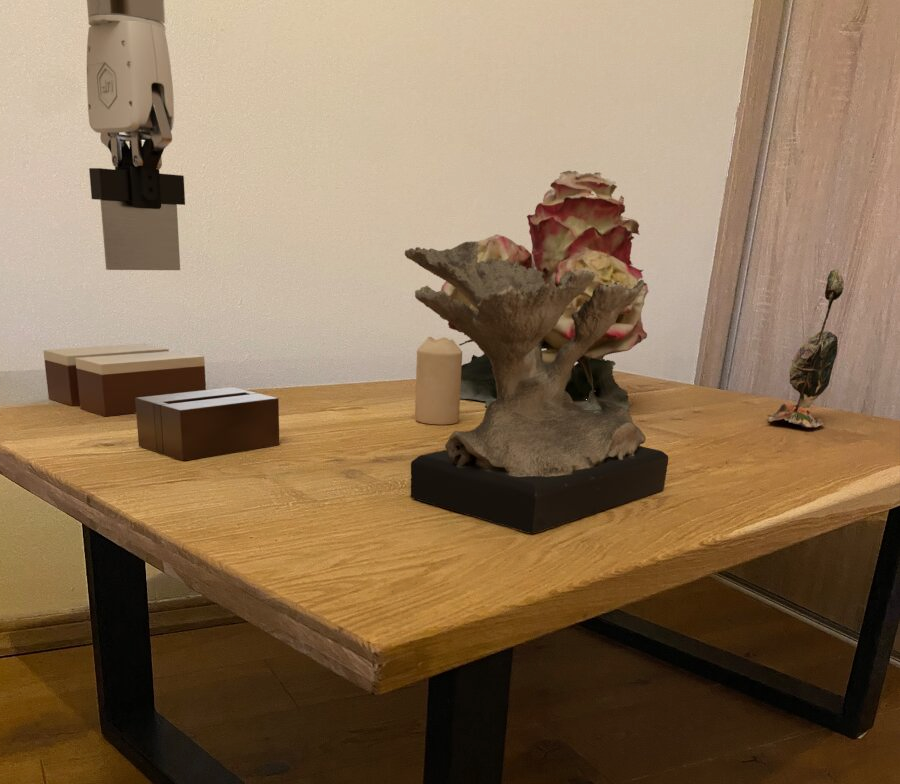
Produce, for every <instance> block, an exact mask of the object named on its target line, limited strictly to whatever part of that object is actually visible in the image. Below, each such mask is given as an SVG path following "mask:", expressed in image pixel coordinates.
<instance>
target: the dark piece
mask: <svg viewBox="0 0 900 784" xmlns="http://www.w3.org/2000/svg"><path fill="white" fill-rule="evenodd" d="M88 173H89V180H90V181H89V184H90V195H91V197H90V198H91V200H98V201H100V212H101V213H100V214H101V225H102V236H103V238H102V239H103V246H104V249H103V250H104V258H105V259H104V261H105V270H107V271H181V258H180V256H181V255H180V237H179V221H178V220H179V219H178V205H179V206H181V205H182V206H186V195H185V194H186V193H185V176H184V175H183V174H182V175H181V174H172V173H171V174H169V173H160V172H159V174H160V191H161V208H160V209H148V208H135V207H133V205H132V193H131V179H130V171H126V170H115V168H114V169H113V168H101V167H89V168H88Z"/></svg>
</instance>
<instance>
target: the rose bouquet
mask: <svg viewBox="0 0 900 784" xmlns="http://www.w3.org/2000/svg"><path fill="white" fill-rule="evenodd" d="M601 175H602V173H601V172H600V171H598V172H597V171H596V172H594V173H591V172H588V173H587V172H586V173H579V171H576V170H574V171H572V170H566V171H562V172H559V177H558V178H556V179H554V181H553V182H551V183H550V187H551V188H550V189H548V190H547V191H546V192H545V193H544V195H543V198H542V202H538V203H537V204H536V206H535V209H534V214H528V215H527V216H526V218H527V221H528V222H527V223H528V226H529V230H528V233H529V235H530V240H531V241H530V242H531V247H532V249H531V252H530V251H529V250H528V249H527V248H526V247H525V245H522V244H517V243H516V242H515V241H513V240H512V239H510V238H508V237H506V236H505V235H500V234H498V233H497V234H493V235H491V236H489V237H487V238H484V239H480V240H476V242H478V244H479V245H478V255H477V257H478V261H477V262H478V263H479V262H480V261H484V262H486V261H487V260H489V259H490V258H497V259H498V260H499V259H501V260H502V261H507V260H508V261H510V262H511V261H513V260H514V262H517V264H519V266H520V265H521V266H523V267H525V268H526V269H527V270H528V268H532V269H535V270H538V271H541V272H542V273H543V275H542V276H541V277H542V278H543V279H544V281H545V284H547V283H548V282H549V277H551V275H552V274H553V273H556V276H555V286H556V288H557V287H558V286H559V281H560V278H561V277H562V275H565V274H564V272H565V271H569V270H571V271H572V272H573V271H574V270H579V269H582V270H585V271H590V272H594V273H595V277H594V280H593V281H592V282H591V284H590V285H589V286H588V287H587V288H586V290H585V291H584V292H583V293H581V294H580V295H579V296H577V297H575V298H574V299H573V301H572V302H570V303H569V305H568V306H567V307H566V309H565V310H564V312H563V315H561V317H560V319H559V321H558V323H557V324H556V325H555V326H554V327H553V328H552V330H551V331H550V332H549V333H548V334H547V335H546V336H545V338H544V341H543V343H542V345H541V348H542V359H543V361H544V362H546V363H551V362H552V361H554V360H555V357H556V355H557V353H558V352H559V350H560V349H561V347H562V345H564V344H567V343H568V342H570V341H571V340H572V339H573V338H574V337H575V325H574V320H573V319H572V317H571V315H572V313H573V312H576V311H579V310H580V307H581V306H583V303H584V302H585V300H587V301H589V300H590V299H591V297H592V295H593V291H594V289H595V287H597V286H598V285H609V284H611V285H612V284H614V282H619V283H621V284H622V285H624V284H625V285H627V286H628V287H629V289H630V288H631V289H632V288H633V287H634V285H637V283H638V282H639V281H640V280H643V279H644V277H643V271H644V269H639V268H636V267H634V266H633V265H634V263H633V262H632V261H631V254H632V247H633V242H632V241H633V240H634V239H635V237H634V236H633V234H635V235H639V236H640V235H641V234H640V231H639V227H640V224H639V221H638V220H636V219H634V218H629V217H626V216H623V215H622V214H625V211H626V205H625V204H624V201H625V200H624V199H625V197H624V196H623V195H620V197H619V198H618V199H616V198H614V197H613V196H612V195H613V194H614V192H615V191H616V189H617V188H618V186H617V185H616V184H617V181H615V180H611V179H609V178H603V177H602V176H601ZM628 287H627V288H628ZM441 290H444V291H445V292H446V293H447V294H448V295H450V297H451V299H456V300H457V301H459V303H460V302H464V303H465V304H466V305H467V306H469V307H470V308H472V310H473V311H475V312H477V313H478V312H479V310H478V309H476V308H475V307H474V306H473V305H472V304H471V303H470V302H469V301H468V300H467V298H466V297H465V296H464V295H463V294H462V293H461V292H460V291H459V290H457V289H456V288H455V287H453V285H451V284H449V283H448V282H447V281H444V283H443V285H442V286H441V289H440V291H441ZM649 292H650V291H649V288H648V283H646V282H644V286H643V288H642V289H641V291H640V293H639V294H638V295H637V297H636V298H635V300H634V301H633V302H631V305H630V306H627V307H626V308H625V309H624V311H623V312H621V314H619V315H618V317H617V318H616V319H615V321H614V323H613V324H612V325H611V327H610V328H609V330H608V331H607V332H606V333H605V334H604V335H603V336H602V337H601V338H600V339H598V340H597V341H596V342H595V343H594V344H592V346H590V347H589V348H588V350H587V351H586V352H585V353H584V355H583V356H582V357H580V358H579V359H578V360H577V361H576V363H575V365H574V366H573V368H572V369H571V373H570V374H569V377H568V381H567V384H566V388H565V391H566V392H567V393H568V394H569V395H570V396H571V398H572V400H573V402H574V403H575V404H576V405H578V406H579V407H581V408H582V409H584V410H585V411H587V412H590V413H596V414H600V413H603V412H607V411H608V410H610V409H613V408H615V407H623V408H625V409H626V410H627V412H628V413H630V409H629V407H630V406H632V405H634V402H630V401H629V399H628V398H629V395H628V391H627V390H625V389H624V388H622V387H620V385H619V384H618V383H617V382H616V380H615V378H614V376H615V375H613V374H614V371H613V370H614V366H616V362H615V361H614V360H611V359H605V358H604V357H606V356H608V355H611V354H617V353H623V352H627V351H630V350H632V349H633V348H634V347H636V346H637V345H638V344H640V343H642V342H643V340H645V339H647V338H648V333H647V332H646V331H645V330H644V325H643V322H642V312H643V307H644V305H645V299H646V297H647V295H648V293H649ZM447 322H448V321H447ZM447 326H448V328H449V329H451V330H453V331H457V332H458V333H462V332H461V331H460V330H459V329H458V328H456V327H455V326H454V325H453V324H451V323H450V322H448V323H447ZM463 335H464V336H467V335H466V334H465V333H463ZM472 342H474V341H473V340H472V339H468V340H465V341H464V342H461V343H459V344H458V347H460V346H463V345H465V344H468V343H472ZM460 399H463V400H464V399H465V400H467V399H468V400H473V401H480V402H481V401H482V402H485V405H484V406H485V407H486V408H487V407H488V405H489V404H490V403H491V402H493V401H495V400H496V399H497V388H496V381H495V378H494V375H493V370H492V364H491V362H490V359H489V357H488V356H487V355H486V354H484V353H483V354H482V355H480V356H477V355H475V354H473V355H472V356H471V360H470V361H468V362H467V363H464V364H463V363H462V369H461V388H460ZM586 399H587V400H586Z"/></svg>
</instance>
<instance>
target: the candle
mask: <svg viewBox="0 0 900 784" xmlns="http://www.w3.org/2000/svg"><path fill="white" fill-rule="evenodd" d="M462 365H463V350H462V349H461V348H460V346H459V345H458V344H457V343H456V342H455V341H454V339H453V338H451V339H449V338H448V337H445V336H444V337H440V338H437V339H435V338H434V337H432V336H427V337H426V339H425V340H424V341H423V343H422V344H421V345H420V346H419V347H418V348H417V349H416V368H415V369H416V370H415V398H414V419H415V421H416V422H418V423H422V424H426V425H427V424H428V425H438V426H439V425H443V426H444V425H452V424H457V423H458V422H459V419H460V408H461V407H460V406H461V405H460V404H461V403H460V402H461V398H460V388H461V369H462Z"/></svg>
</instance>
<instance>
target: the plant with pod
mask: <svg viewBox="0 0 900 784" xmlns="http://www.w3.org/2000/svg"><path fill="white" fill-rule="evenodd" d="M844 288H845V281H844V277H843V275H842V273H841V272H840V270H839V268H835V269H832V270H831V271H830V272H829V274H828V276H827V278H826V284H825V291H824V298H825V300H827V301H828V305H827V311H826V314H825V318H824V321H823V323H822V326H821V330H820V331H818V332H817V333H815V334H813V335H811V336H809V338H808V339H807V340H806V341H805V343H803V344H802V345H801V346H800V347H799V349H798V350H797V353H795V355H794V357H793V359H792V360H791V365H790V367H789V384H790V385H791V387H792V388H793V389H794V390H795V391H796V392H798V393H799V398H798V401H797V404H792V403H786V402H785V403H782V404H781V406H780V407H779V409H778V410H777V411H776V412H775V413H773V414H767V415H766V417H768V420H767V421H768V422H770V423H771V422H774V421H775V422H776V421H780V420H781V421H782V420H784V421H785V422H787V421H788V423H792V424H793V425H798V426H799V425H800V426H801V427H803V428H807V429H809V428H811V429H812V428H818V427H820V426H826V424H827V423H826V421H824V420H822V418H821V417H816V418H814V416H813V414H812V409H811V407H810V406H811V405H812V404H813V403H814V402H815V401H816V400H817V399H818V398H819V397H820V395H822V394H823V393H824V392H825V390H826V389H827V388H828V387H829V384H830V381H831V377H832V374H833V368H834V364H835V361H836V358H837V355H838V345H839V343H838V336H837V335H836V334H834V333H833V332H832V331H828V330H825V326H826V324H827V320H828V319H829V315H830V312H831V309H832V305H833V303H834V301H837V299H839V298H840V297H841V295H842V294H843V292H844ZM839 334H842V331H841V332H840V331H839Z"/></svg>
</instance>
